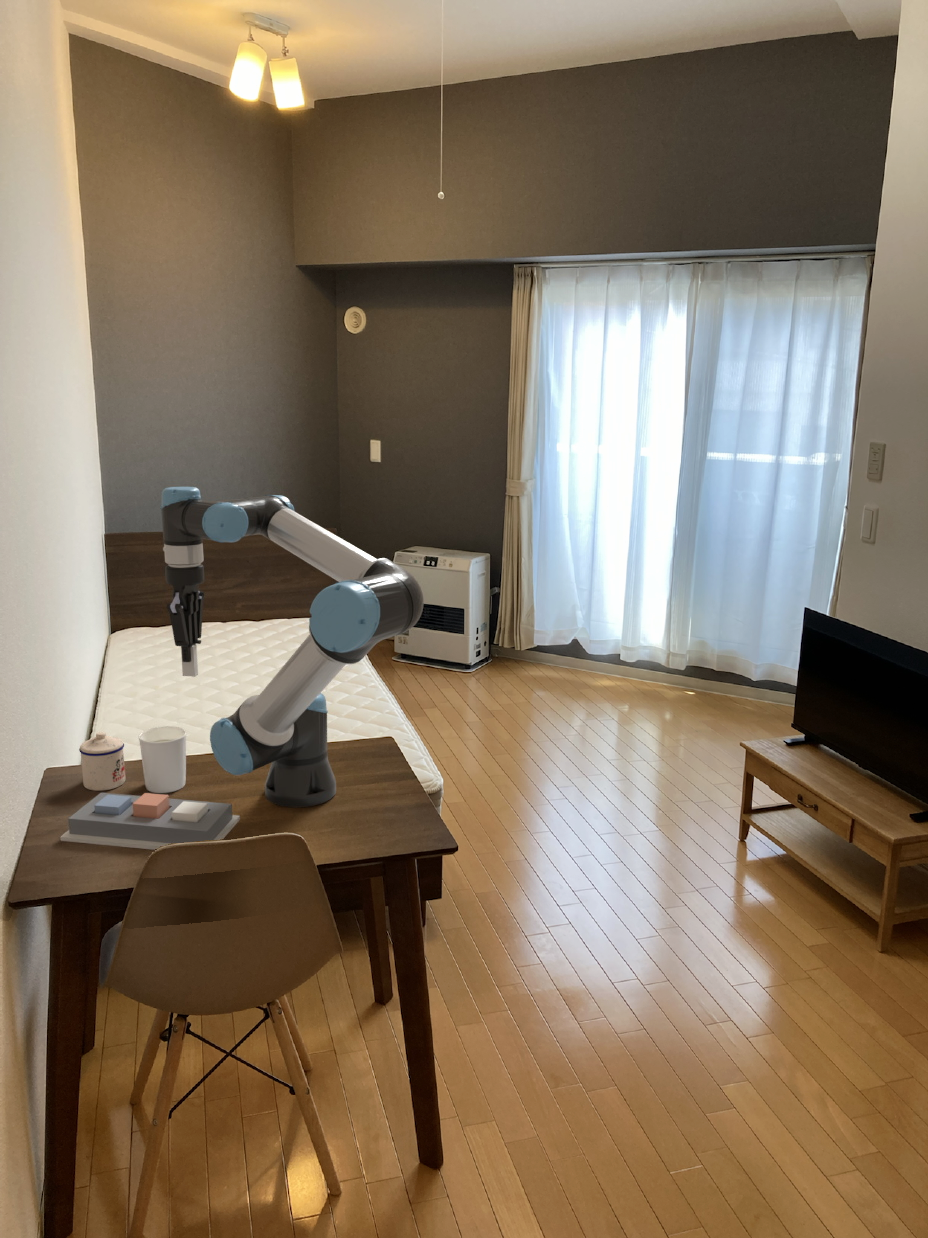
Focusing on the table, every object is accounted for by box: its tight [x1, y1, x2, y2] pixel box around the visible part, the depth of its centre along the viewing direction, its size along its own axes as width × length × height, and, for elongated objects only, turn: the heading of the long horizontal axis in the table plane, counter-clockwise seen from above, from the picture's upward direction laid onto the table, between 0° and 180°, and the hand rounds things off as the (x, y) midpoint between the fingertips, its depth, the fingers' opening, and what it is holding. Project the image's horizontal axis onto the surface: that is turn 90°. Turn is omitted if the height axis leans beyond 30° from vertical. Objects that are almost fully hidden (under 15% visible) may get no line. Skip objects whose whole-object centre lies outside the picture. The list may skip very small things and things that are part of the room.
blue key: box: [94, 795, 132, 815], centre depth 183 cm, size 5×5×3 cm
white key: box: [172, 801, 208, 822], centre depth 181 cm, size 5×5×3 cm
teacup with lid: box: [78, 731, 126, 792], centre depth 203 cm, size 12×9×12 cm
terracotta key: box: [133, 792, 170, 819], centre depth 181 cm, size 5×5×3 cm
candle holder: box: [138, 725, 187, 794], centre depth 201 cm, size 10×10×12 cm
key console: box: [60, 792, 241, 851], centre depth 182 cm, size 30×15×4 cm, turn 81°
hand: (190, 675), depth 193 cm, fingers closed
